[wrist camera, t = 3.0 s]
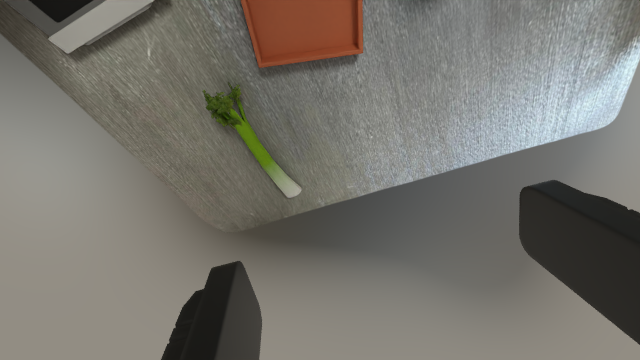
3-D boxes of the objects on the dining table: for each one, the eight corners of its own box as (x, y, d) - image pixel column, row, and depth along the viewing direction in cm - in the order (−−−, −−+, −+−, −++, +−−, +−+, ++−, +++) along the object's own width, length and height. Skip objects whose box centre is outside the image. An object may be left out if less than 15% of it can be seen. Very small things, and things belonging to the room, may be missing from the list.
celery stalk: (278, 187, 71) (192, 82, 49) (306, 175, 71) (231, 62, 48) (283, 208, 67) (191, 105, 45) (312, 196, 67) (234, 84, 44)
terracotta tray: (227, -66, 37) (224, -61, 35) (357, -86, 36) (361, -82, 34) (260, 59, 48) (258, 68, 46) (360, 45, 47) (363, 53, 45)
